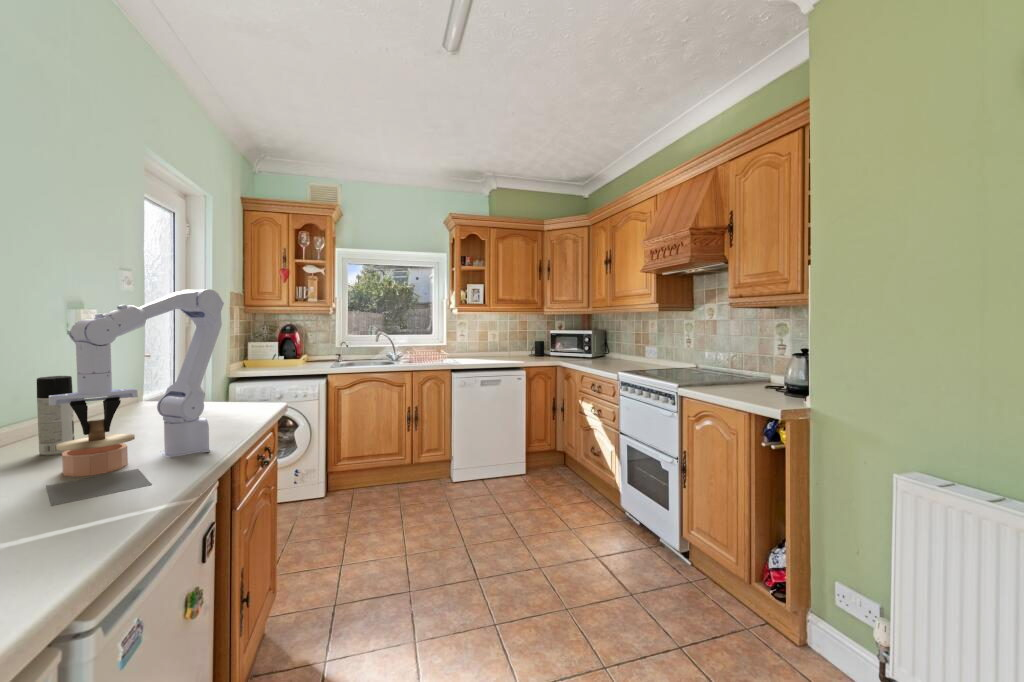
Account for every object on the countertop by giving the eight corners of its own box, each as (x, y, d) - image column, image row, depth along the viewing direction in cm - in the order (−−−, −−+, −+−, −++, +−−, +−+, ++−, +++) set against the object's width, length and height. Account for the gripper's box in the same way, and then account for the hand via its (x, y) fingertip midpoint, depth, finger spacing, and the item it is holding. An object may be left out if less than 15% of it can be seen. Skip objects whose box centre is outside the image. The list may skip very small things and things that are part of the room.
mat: (138, 471, 106) (138, 468, 106) (152, 487, 96) (152, 484, 96) (46, 488, 94) (46, 485, 94) (51, 508, 85) (51, 505, 84)
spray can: (80, 450, 121) (78, 376, 121) (48, 457, 115) (45, 379, 114) (65, 447, 124) (63, 374, 123) (32, 454, 117) (29, 377, 116)
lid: (136, 434, 111) (136, 413, 111) (132, 443, 100) (131, 419, 100) (63, 443, 103) (62, 420, 103) (49, 453, 93) (48, 428, 93)
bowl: (122, 460, 114) (122, 440, 113) (131, 470, 106) (130, 449, 106) (61, 470, 105) (60, 449, 105) (65, 482, 98) (64, 459, 98)
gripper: (132, 368, 109) (134, 424, 110) (46, 373, 98) (49, 435, 99) (138, 371, 105) (140, 429, 105) (49, 376, 94) (52, 441, 95)
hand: (96, 432), depth 102 cm, fingers closed on lid, 3 cm apart
